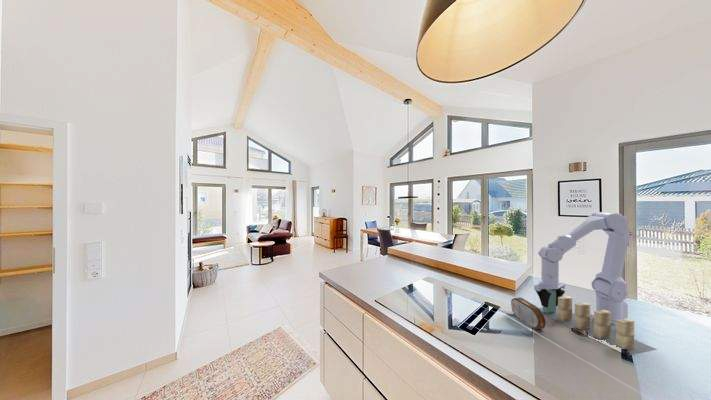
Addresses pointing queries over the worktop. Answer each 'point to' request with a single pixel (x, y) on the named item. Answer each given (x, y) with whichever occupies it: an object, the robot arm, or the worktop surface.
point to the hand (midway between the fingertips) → (549, 305)
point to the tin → (528, 313)
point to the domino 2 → (564, 308)
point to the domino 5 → (625, 333)
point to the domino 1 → (551, 302)
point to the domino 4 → (602, 324)
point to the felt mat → (611, 340)
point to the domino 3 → (582, 315)
